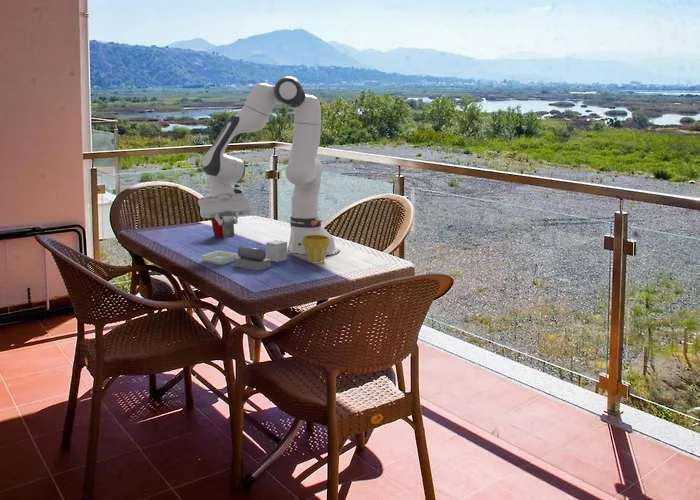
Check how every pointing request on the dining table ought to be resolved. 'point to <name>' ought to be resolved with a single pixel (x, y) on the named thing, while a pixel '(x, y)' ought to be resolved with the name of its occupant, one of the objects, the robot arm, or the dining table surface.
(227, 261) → the tray
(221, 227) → the plastic cup
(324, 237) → the plant pot
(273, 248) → the product box
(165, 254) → the dining table surface
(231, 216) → the battery cell
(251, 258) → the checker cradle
